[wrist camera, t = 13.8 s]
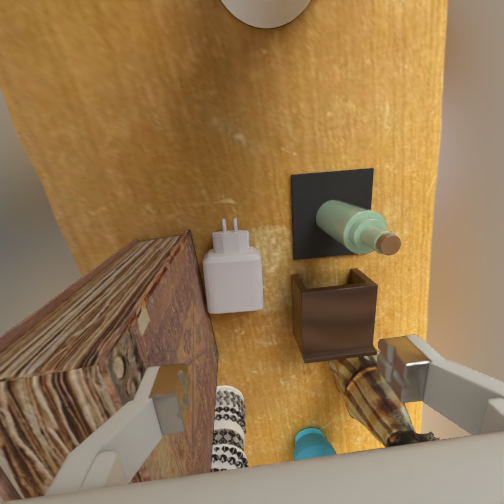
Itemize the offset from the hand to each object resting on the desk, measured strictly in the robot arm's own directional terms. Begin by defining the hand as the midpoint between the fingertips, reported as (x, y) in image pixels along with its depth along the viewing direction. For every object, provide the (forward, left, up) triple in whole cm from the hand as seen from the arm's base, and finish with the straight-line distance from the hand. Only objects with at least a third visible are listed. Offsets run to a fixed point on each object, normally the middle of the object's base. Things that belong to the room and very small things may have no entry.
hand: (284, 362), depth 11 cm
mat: (+1, +14, -33) cm, 36 cm away
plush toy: (+32, +20, -33) cm, 50 cm away
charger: (+7, -3, -33) cm, 34 cm away
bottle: (+1, +14, -32) cm, 35 cm away
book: (+14, -13, -33) cm, 38 cm away
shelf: (+17, +13, -33) cm, 39 cm away
